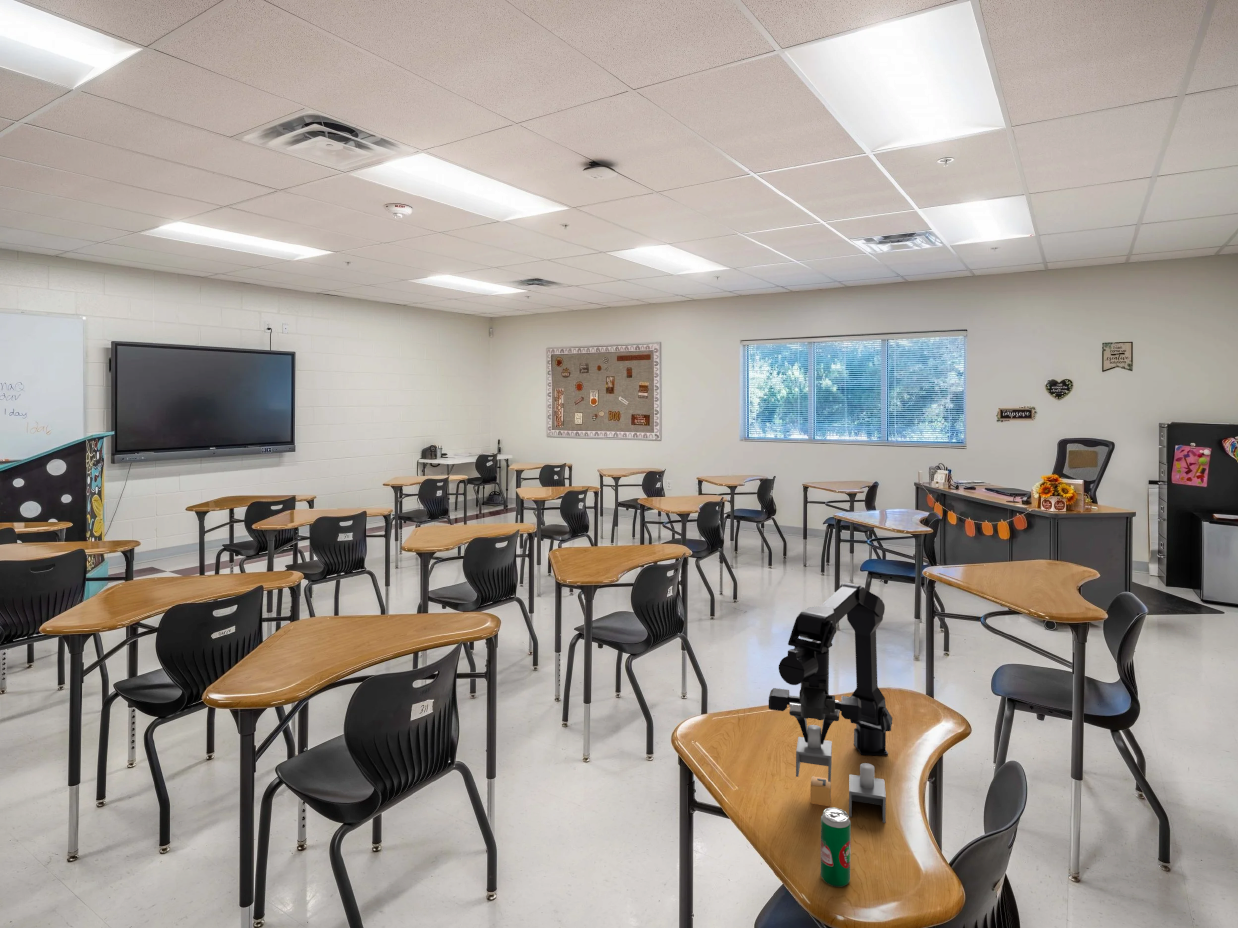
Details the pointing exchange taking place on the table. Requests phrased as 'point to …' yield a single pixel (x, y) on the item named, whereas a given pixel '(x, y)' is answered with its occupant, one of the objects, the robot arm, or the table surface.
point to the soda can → (835, 847)
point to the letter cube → (820, 791)
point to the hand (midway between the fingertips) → (814, 742)
